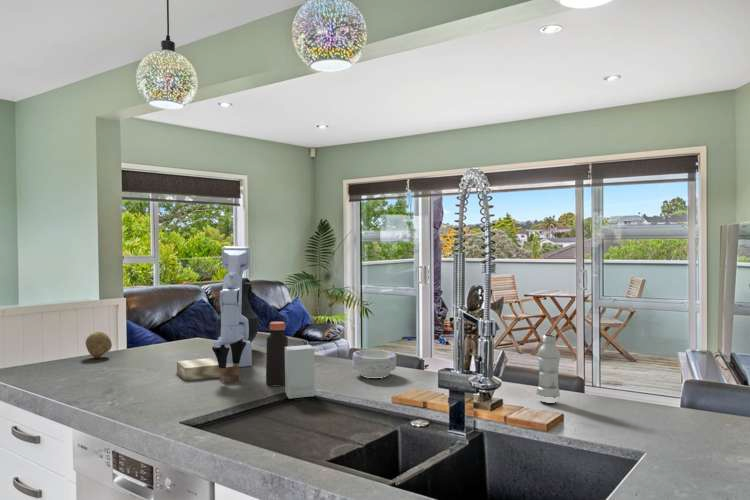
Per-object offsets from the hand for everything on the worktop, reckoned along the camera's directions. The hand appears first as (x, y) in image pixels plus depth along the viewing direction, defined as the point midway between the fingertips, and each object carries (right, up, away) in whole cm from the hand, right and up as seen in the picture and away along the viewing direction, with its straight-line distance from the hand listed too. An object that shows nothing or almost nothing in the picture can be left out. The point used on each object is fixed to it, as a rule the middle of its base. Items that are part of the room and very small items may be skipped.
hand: (229, 365), depth 189 cm
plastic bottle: (+100, -7, -20) cm, 102 cm away
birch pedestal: (-12, -4, +7) cm, 15 cm away
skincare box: (+26, -6, -17) cm, 31 cm away
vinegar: (+16, -5, -4) cm, 18 cm away
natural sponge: (-58, -3, +31) cm, 66 cm away
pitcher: (-9, -4, +52) cm, 53 cm away
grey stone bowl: (+48, -6, +9) cm, 49 cm away
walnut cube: (0, -5, 0) cm, 5 cm away
